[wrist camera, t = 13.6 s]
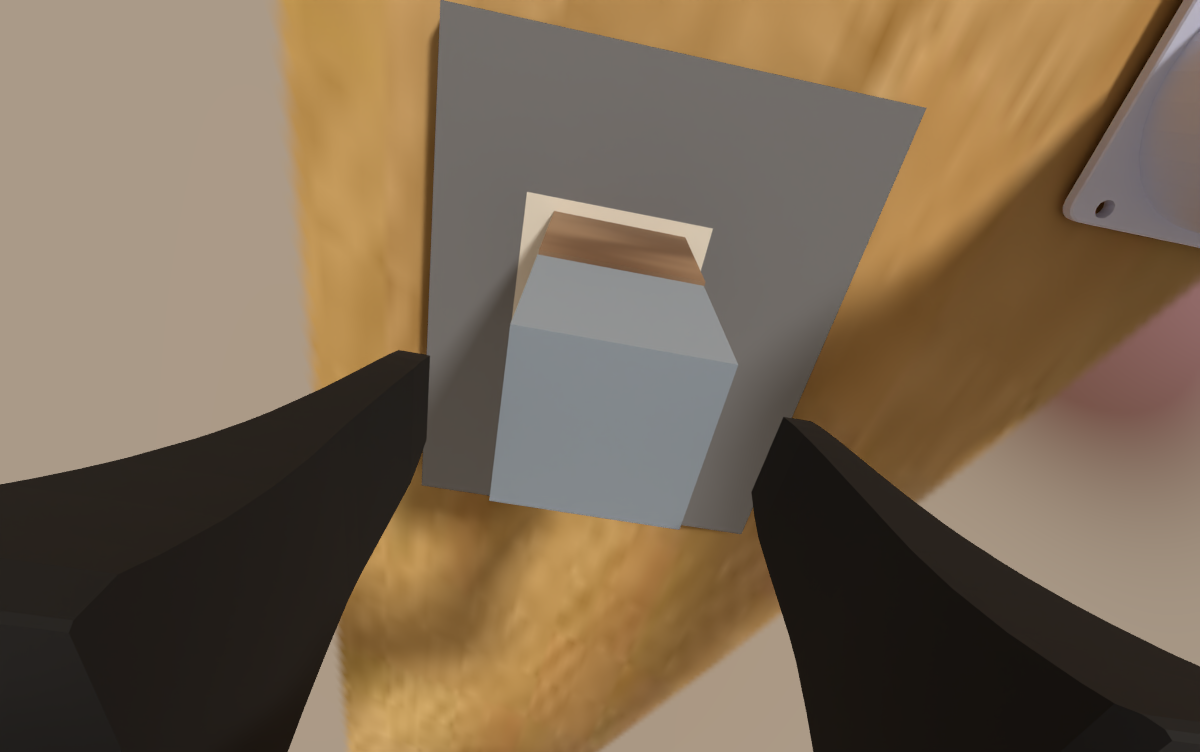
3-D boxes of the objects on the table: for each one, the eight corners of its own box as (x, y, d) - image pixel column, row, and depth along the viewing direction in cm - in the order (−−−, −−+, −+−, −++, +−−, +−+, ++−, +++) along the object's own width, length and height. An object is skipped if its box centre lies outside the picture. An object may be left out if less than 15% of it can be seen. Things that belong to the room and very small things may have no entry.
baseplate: (911, 106, 15) (926, 107, 15) (737, 520, 23) (741, 534, 22) (448, 3, 14) (439, -1, 14) (427, 472, 22) (421, 485, 21)
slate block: (703, 285, 13) (738, 364, 10) (663, 422, 15) (679, 529, 11) (537, 254, 13) (510, 323, 9) (517, 398, 15) (489, 500, 11)
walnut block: (685, 237, 16) (705, 282, 13) (653, 353, 18) (663, 419, 15) (554, 210, 16) (539, 249, 13) (535, 331, 18) (517, 394, 15)
